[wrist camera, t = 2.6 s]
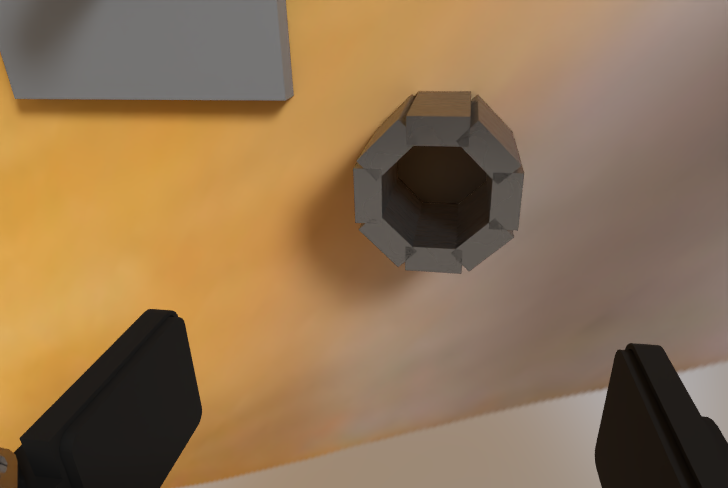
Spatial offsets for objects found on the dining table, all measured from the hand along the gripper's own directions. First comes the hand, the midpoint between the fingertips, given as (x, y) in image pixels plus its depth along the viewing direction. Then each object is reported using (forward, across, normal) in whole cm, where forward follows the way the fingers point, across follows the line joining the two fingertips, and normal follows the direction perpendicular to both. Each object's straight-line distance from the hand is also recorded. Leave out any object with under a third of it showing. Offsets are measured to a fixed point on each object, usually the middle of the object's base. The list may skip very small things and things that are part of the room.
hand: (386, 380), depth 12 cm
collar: (+15, -1, 0) cm, 15 cm away
